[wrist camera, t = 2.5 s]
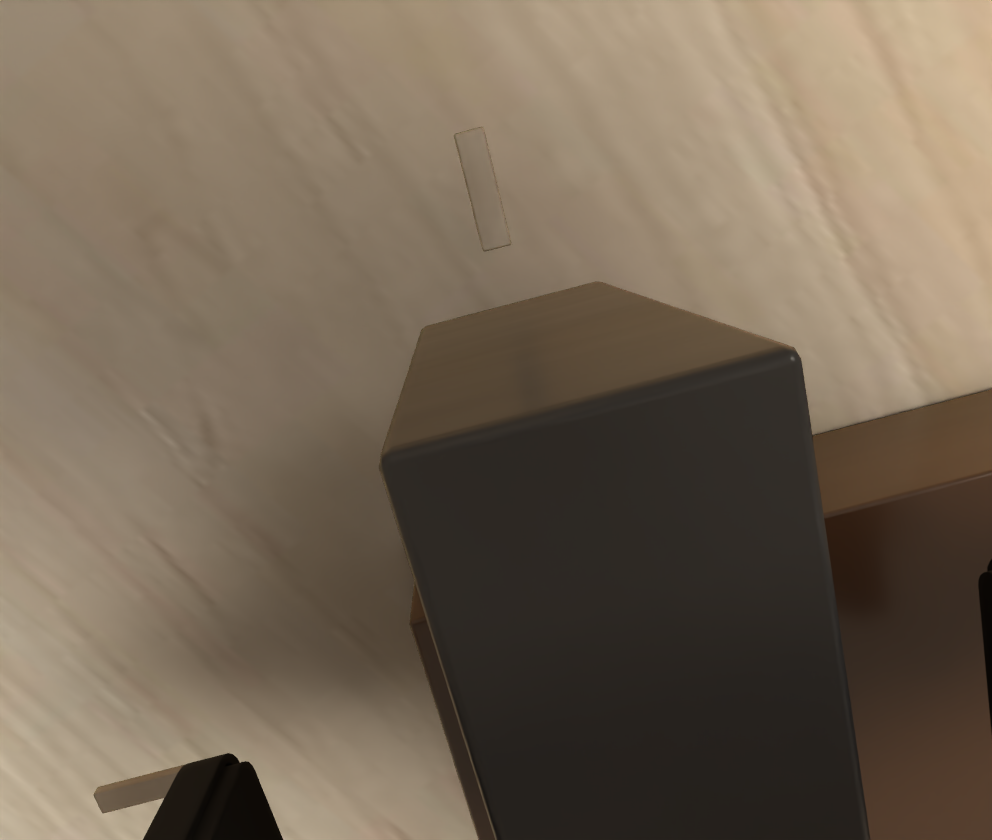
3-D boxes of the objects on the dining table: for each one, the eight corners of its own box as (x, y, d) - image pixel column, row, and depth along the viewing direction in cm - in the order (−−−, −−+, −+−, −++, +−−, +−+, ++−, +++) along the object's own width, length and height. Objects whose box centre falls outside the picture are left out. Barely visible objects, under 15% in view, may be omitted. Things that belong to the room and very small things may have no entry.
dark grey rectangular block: (418, 327, 9) (366, 471, 4) (602, 278, 9) (830, 350, 4) (600, 969, 12) (725, 1600, 6) (740, 933, 12) (987, 1535, 6)
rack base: (7, 277, 12) (-151, 293, 9) (1227, -45, 11) (1507, -145, 8) (417, 1241, 18) (410, 1450, 15) (1215, 1042, 18) (1373, 1211, 15)
